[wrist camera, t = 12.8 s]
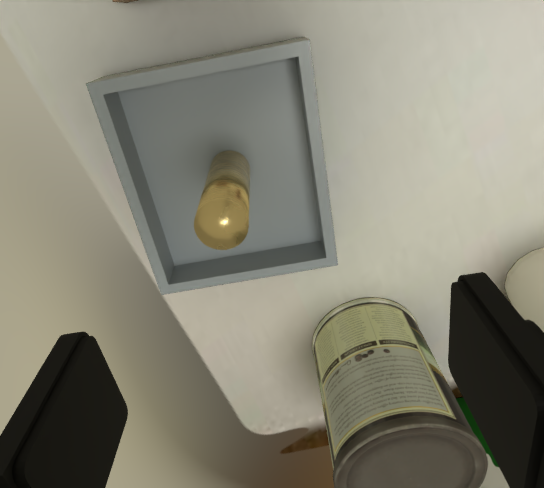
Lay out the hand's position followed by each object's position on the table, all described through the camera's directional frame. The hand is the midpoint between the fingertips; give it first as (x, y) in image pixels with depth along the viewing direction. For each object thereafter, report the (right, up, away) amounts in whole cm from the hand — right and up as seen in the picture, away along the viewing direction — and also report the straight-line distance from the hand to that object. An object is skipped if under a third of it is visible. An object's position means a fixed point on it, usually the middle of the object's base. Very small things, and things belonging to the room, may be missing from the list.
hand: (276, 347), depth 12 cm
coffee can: (+9, -6, +31) cm, 32 cm away
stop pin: (-3, +8, +22) cm, 23 cm away
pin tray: (-3, +8, +22) cm, 24 cm away
